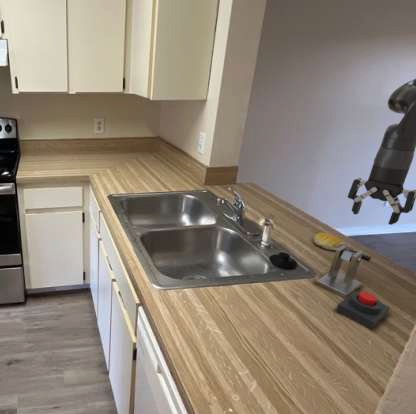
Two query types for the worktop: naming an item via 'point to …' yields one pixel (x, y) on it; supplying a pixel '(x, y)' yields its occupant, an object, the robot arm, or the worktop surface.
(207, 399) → the worktop surface
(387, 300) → the worktop surface
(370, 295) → the button
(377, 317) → the button block
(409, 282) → the worktop surface
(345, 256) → the press lever
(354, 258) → the lever bracket
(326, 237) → the bread roll
